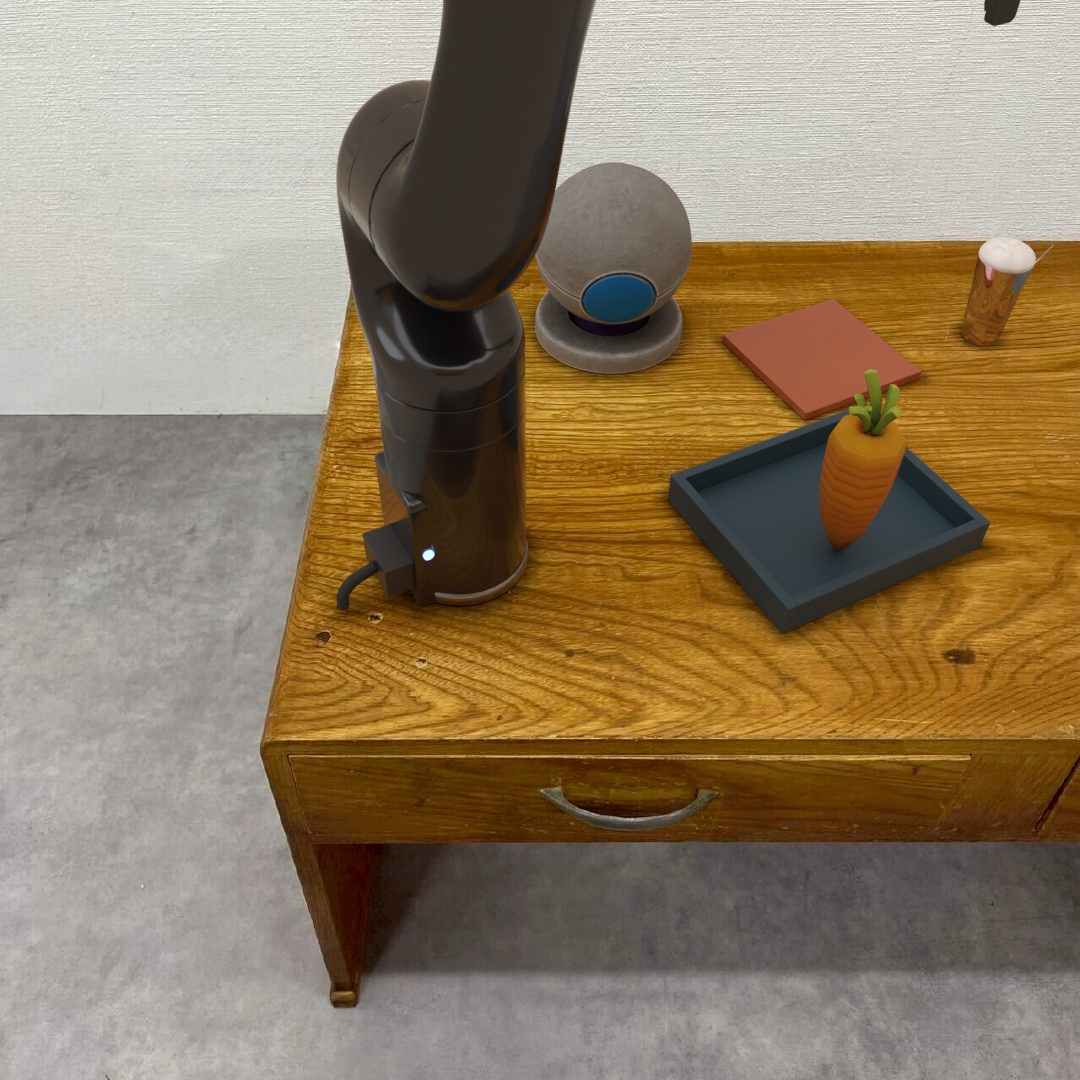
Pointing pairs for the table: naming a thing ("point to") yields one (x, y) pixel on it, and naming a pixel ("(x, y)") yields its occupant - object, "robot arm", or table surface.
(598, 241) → the webcam
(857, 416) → the carrot
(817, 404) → the tile
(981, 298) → the milkshake
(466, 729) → the table surface
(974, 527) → the tray
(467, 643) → the table surface
